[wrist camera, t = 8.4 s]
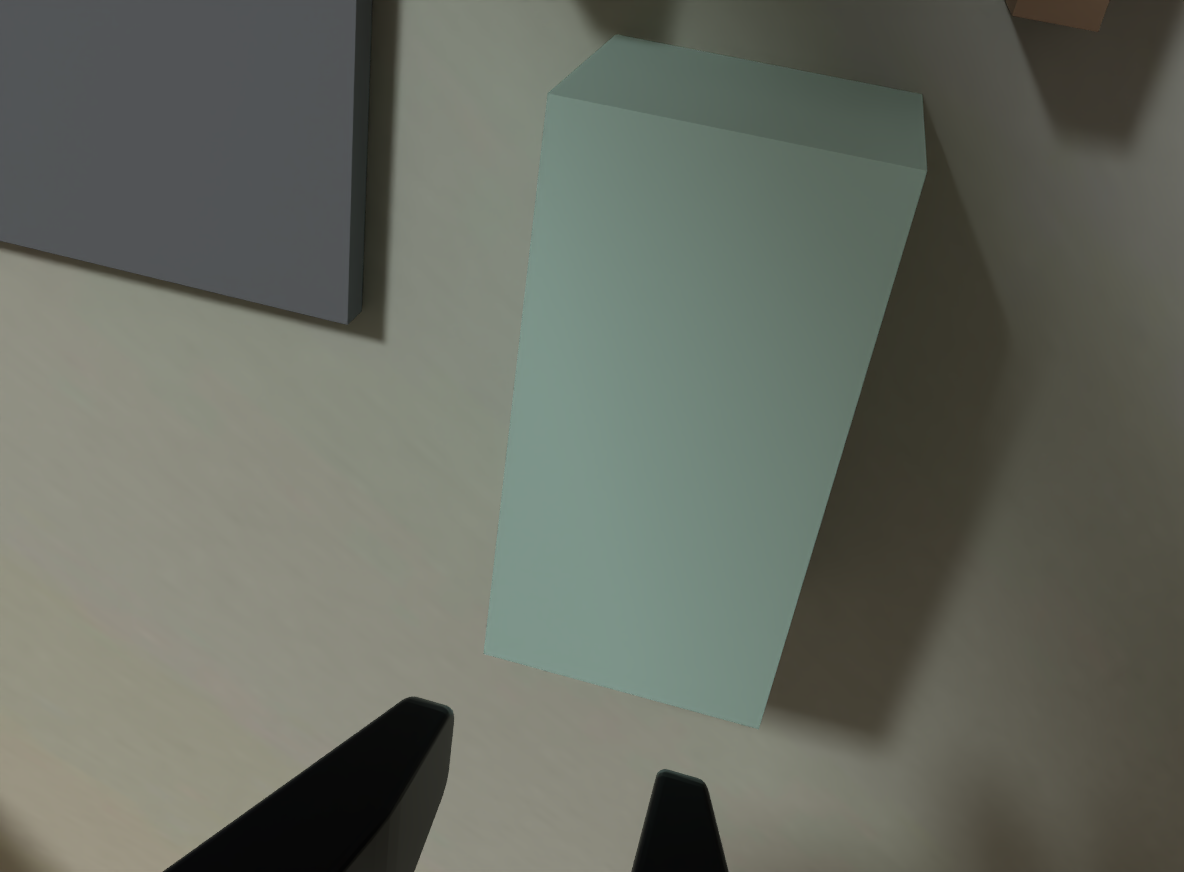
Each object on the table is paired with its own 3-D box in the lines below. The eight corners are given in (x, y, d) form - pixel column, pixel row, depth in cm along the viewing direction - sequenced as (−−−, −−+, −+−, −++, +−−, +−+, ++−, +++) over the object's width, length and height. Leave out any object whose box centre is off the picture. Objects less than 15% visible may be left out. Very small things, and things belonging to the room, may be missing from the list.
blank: (618, 32, 17) (548, 93, 13) (922, 90, 16) (927, 170, 13) (549, 517, 21) (483, 654, 18) (781, 576, 21) (758, 729, 17)
